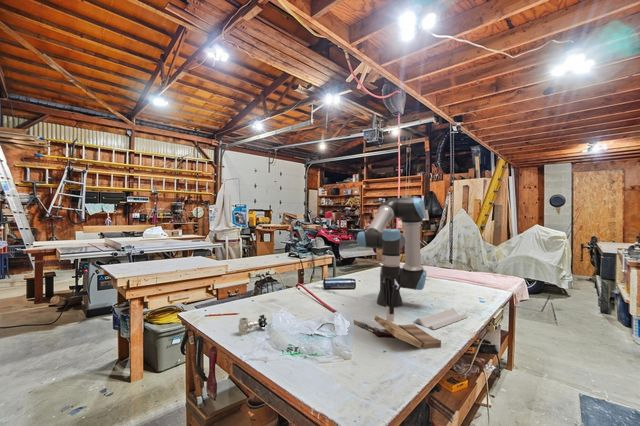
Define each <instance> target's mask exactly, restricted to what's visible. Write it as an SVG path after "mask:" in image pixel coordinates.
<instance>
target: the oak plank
mask: <svg viewBox="0 0 640 426" xmlns="http://www.w3.org/2000/svg"><path fill="white" fill-rule="evenodd" d="M373 320H374V321H375V322H376V323H377V324H379V325H380V326H381V327H382V328H384V329H385V331H387V332H388V333H390V334H391V335H392V336H394V337H395V338H396V339H399V340H400V341H403V342H406V343H408V344H410V345H413V346H414V347H418V348H420V349H422V347H421V345H422V343H421V342H420V341H419V340H417V339H416V338H414V337H413V336H412V335H410V334H409V333H408V332H406V331H405V330H403V329H402V328H401V327H399V326H398V325H399V324H396V323H394V322H393V321H392V322H388V321H386V319H385V318H383V317H380V316H379V315H375V317H374V318H373Z"/></svg>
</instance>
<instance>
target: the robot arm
mask: <svg viewBox="0 0 640 426" xmlns="http://www.w3.org/2000/svg"><path fill="white" fill-rule="evenodd" d="M392 219H400V220H401V223H402V224H403V227H404V228H403V229H404V230H403V231H404V234H403V233H401V230H400V229H397V228H387V226H388V223H389V222H390V221H391V220H392ZM423 219H426V205H425V202H424V199H423V198H421V197H401V198H400V197H396V198H391V199H388V200H386V201H385V202H383V203H382V204H381V205H380V206H379V207H378V208H377V211H376V215H375V217H374V218H373V219H372V221H371V222H370V224H369V226H368V227H367V229H366V231H359V232H358V233H357V235H356V242H357V243H356V244H357V245H358V247H361V248H366V249H367V248H369V249H381V264H382V265H381V267H380V272H379V292H378V294H377V298H376V303H377V305H380V306H384V307H385V309H386V314H385V316H386V319H385V320H386V321H388V322H392V323H393V322H394V321H395V316H394V315H395V308H399V307H402V305H403V299H402V295H401V292H400V289H408V290H414V291H422V290H423V289H424V288H425V285H426V280H427V279H426V278H427V270H426V269H424V266H423V265H422V263H421V261H422V260H421V224H422V223H423V221H424V220H423ZM403 248H404V264H403V265H402V268H401V266H400V265H401V249H403Z"/></svg>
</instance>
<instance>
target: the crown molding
mask: <svg viewBox="0 0 640 426" xmlns="http://www.w3.org/2000/svg"><path fill="white" fill-rule="evenodd" d="M467 318H468V315H467V313H464V314H459V313H458V312H457V311H456V310H455V308H454V307H451V308H447V309H444V310H441V311H437V312H433V313H431V314H428V315H427V314H426V315H425V316H421V317H418V318H417V319H415V320H414V321H412V324H418V325H421V326H422V327H424V328H427V329H429V330H436V329H439V328H443V327H444V326H447V325H450V324H452V323H456V322H458V321H462V320H464V319H467Z"/></svg>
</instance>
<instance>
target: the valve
mask: <svg viewBox="0 0 640 426" xmlns="http://www.w3.org/2000/svg"><path fill="white" fill-rule="evenodd" d="M266 321H267V317H265V314H261V315H259V318H258V319H257V321H249V319H248V318H247V317H241V318H239V322H238V323H239V324H238V330H239V331H238V334H239V335H238V336H241V335H244V336H247V335H248V330H251V329H253V327H257V326H259V328H262V327H265V326H266V327H267V325H268V322H266ZM246 334H247V335H246Z"/></svg>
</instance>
